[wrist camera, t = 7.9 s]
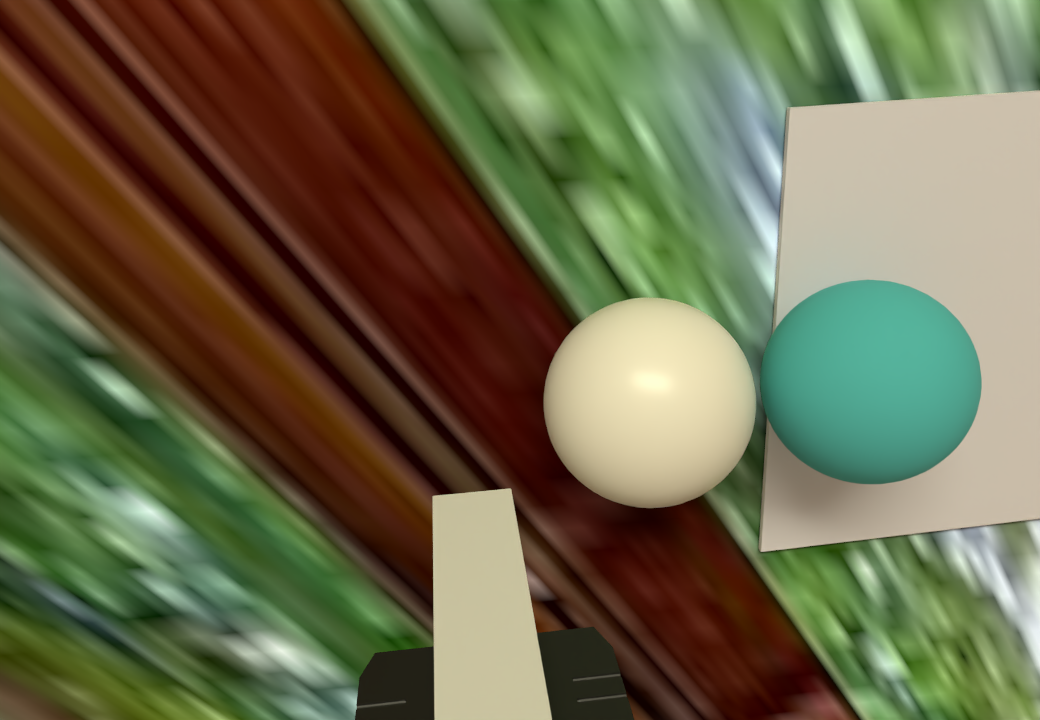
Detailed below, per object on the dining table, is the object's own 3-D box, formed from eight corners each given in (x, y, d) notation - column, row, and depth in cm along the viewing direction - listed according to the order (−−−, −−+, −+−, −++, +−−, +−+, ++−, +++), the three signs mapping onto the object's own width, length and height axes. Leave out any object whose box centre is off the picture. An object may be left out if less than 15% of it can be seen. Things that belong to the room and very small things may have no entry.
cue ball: (496, 323, 20) (595, 265, 25) (512, 519, 22) (600, 433, 27) (720, 353, 18) (785, 282, 22) (714, 573, 20) (775, 468, 24)
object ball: (891, 247, 25) (1052, 298, 20) (872, 414, 27) (1013, 498, 22) (726, 271, 23) (857, 333, 19) (719, 447, 25) (835, 544, 21)
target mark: (1261, 75, 24) (1268, 75, 24) (1149, 501, 29) (1153, 504, 29) (786, 107, 23) (790, 107, 22) (758, 548, 28) (760, 551, 28)
